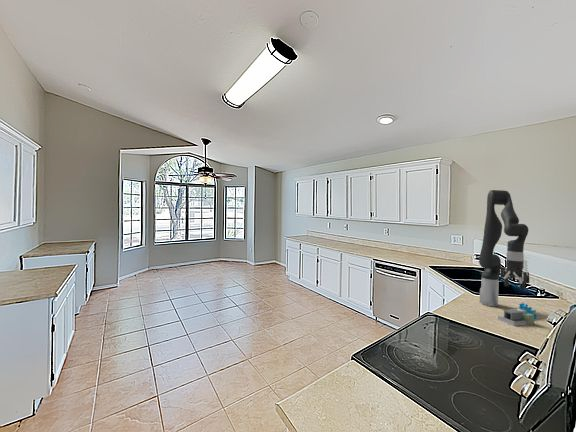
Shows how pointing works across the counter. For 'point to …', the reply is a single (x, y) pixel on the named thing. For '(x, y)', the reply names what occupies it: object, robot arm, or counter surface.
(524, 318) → the drawer with ball knob
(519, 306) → the gear
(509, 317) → the grey lidded bin
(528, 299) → the counter surface
